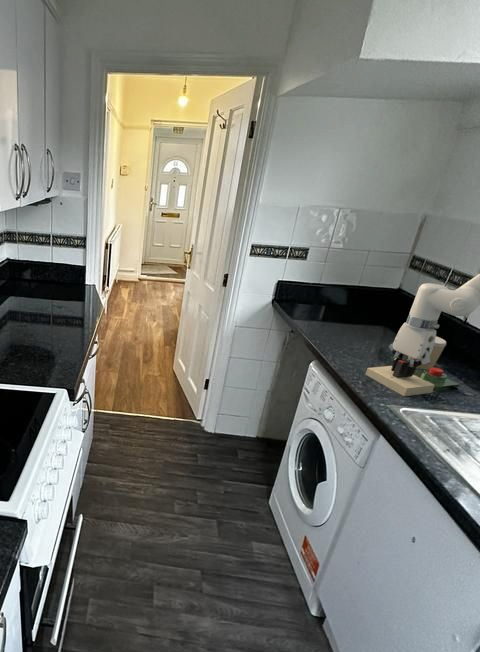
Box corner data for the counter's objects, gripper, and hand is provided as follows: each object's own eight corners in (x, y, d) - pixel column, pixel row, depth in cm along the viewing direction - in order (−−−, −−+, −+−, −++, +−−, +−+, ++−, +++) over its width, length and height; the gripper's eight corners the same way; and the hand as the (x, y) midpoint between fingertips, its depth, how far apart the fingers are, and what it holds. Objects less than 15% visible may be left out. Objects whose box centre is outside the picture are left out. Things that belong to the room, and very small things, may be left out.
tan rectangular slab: (431, 393, 136) (435, 384, 135) (404, 396, 133) (407, 387, 132) (390, 372, 150) (393, 365, 148) (364, 375, 146) (367, 367, 145)
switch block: (456, 389, 140) (461, 379, 138) (437, 392, 137) (441, 381, 136) (425, 375, 149) (429, 365, 148) (406, 377, 147) (410, 367, 145)
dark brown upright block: (403, 374, 142) (409, 359, 139) (408, 376, 140) (414, 361, 138) (392, 375, 140) (398, 360, 138) (397, 377, 139) (402, 362, 136)
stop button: (444, 376, 141) (446, 371, 140) (436, 376, 140) (438, 372, 139) (433, 371, 144) (435, 366, 143) (425, 372, 143) (427, 367, 142)
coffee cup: (398, 360, 160) (410, 332, 154) (424, 363, 159) (437, 335, 153) (411, 371, 151) (424, 342, 146) (439, 375, 150) (453, 345, 145)
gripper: (456, 331, 126) (433, 384, 134) (405, 313, 141) (387, 362, 148) (438, 332, 124) (416, 386, 132) (388, 314, 139) (371, 363, 146)
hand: (401, 373), depth 140 cm, fingers open, 3 cm apart
